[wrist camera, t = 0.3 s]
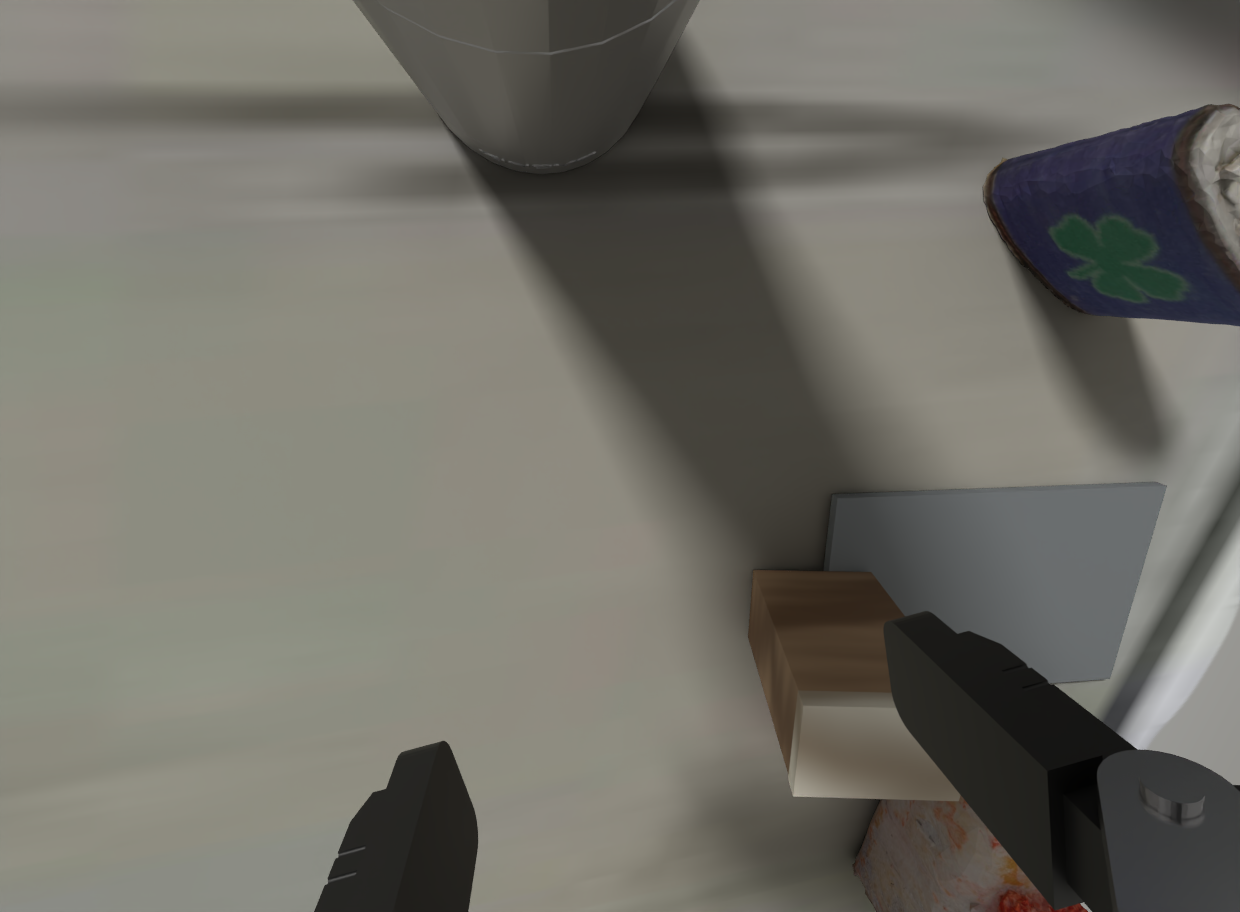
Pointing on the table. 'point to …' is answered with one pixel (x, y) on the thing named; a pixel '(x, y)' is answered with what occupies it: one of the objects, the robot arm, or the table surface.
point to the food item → (941, 862)
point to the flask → (1132, 218)
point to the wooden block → (836, 687)
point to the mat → (1009, 563)
